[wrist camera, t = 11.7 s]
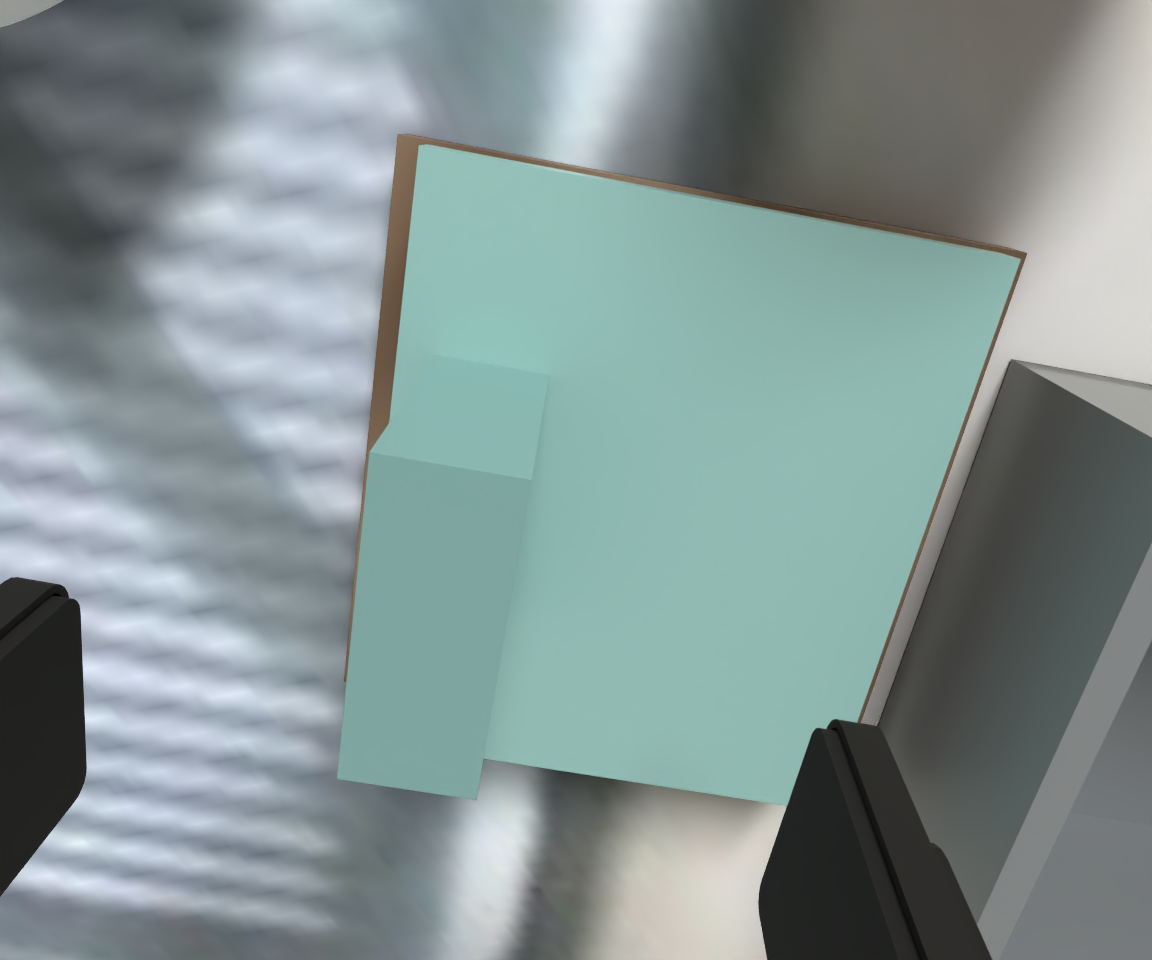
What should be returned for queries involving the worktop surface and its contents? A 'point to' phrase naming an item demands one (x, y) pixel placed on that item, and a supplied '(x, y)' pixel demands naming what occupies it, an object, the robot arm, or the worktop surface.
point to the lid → (646, 478)
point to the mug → (22, 9)
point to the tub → (1042, 674)
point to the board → (409, 155)
